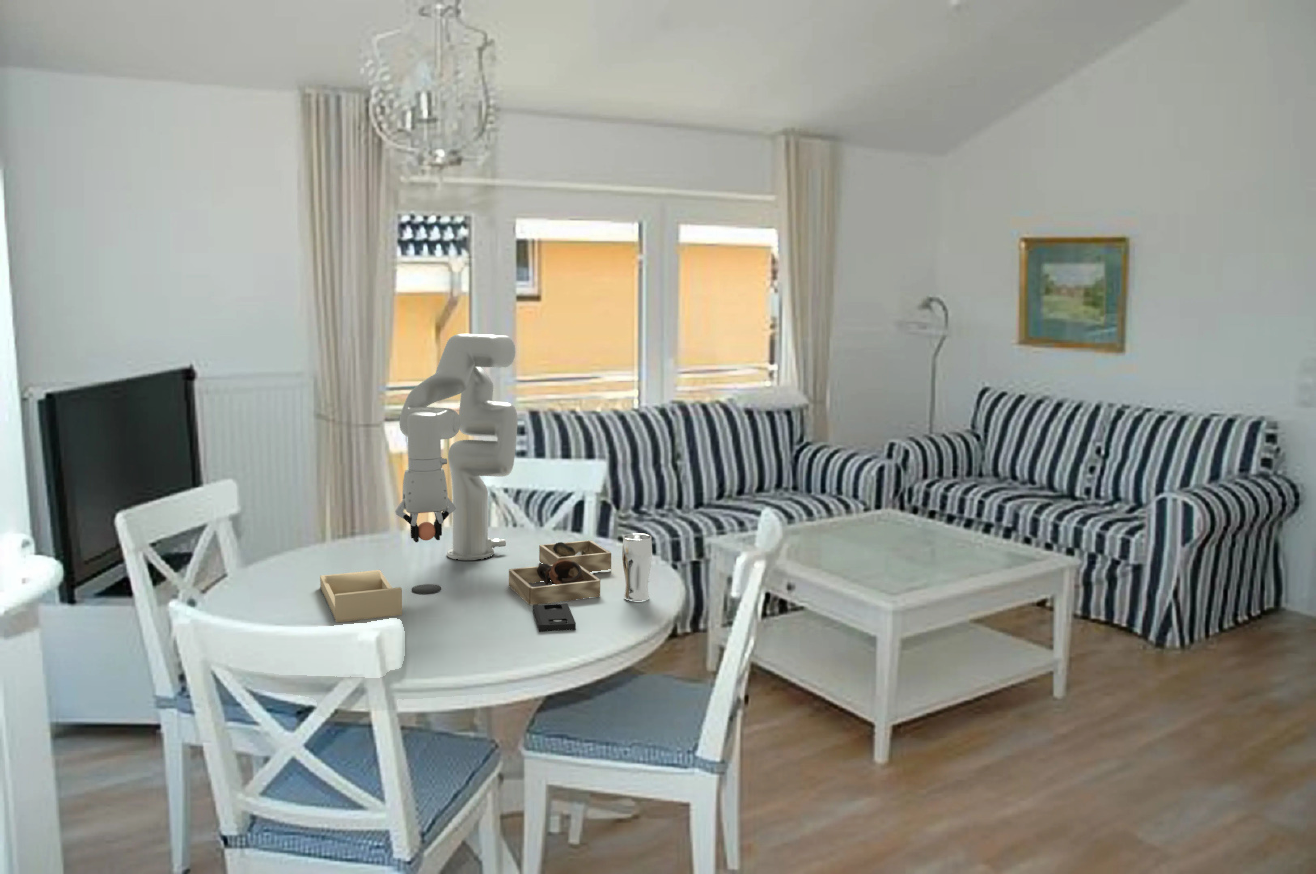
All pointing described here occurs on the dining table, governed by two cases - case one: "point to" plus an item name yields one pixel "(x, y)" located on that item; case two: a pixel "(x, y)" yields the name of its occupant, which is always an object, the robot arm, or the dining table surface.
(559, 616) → the vhs tape
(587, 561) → the wooden tray
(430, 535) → the ball
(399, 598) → the wooden drawer
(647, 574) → the beer glass
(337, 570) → the dining table surface
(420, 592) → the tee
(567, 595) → the shallow wooden box
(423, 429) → the robot arm
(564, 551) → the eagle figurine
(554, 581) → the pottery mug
